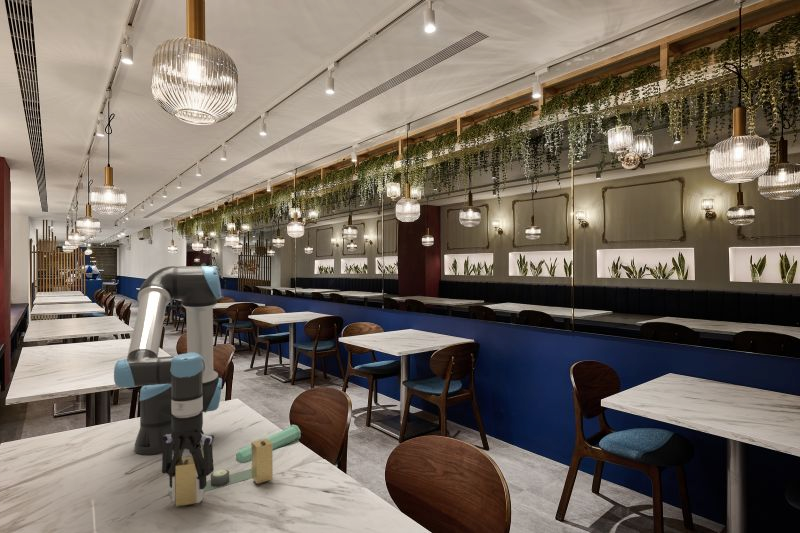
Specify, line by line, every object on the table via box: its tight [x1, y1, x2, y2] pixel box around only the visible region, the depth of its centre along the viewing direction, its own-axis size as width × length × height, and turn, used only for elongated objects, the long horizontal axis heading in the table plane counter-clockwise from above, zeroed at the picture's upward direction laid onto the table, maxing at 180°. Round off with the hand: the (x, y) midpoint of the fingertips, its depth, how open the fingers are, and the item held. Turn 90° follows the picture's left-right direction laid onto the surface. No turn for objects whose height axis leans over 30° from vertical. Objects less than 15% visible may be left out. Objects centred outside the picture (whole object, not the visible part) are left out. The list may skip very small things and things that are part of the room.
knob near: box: [175, 456, 198, 507], centre depth 117 cm, size 5×5×12 cm
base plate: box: [168, 468, 252, 500], centre depth 126 cm, size 12×26×4 cm, turn 126°
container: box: [235, 424, 302, 463], centre depth 152 cm, size 6×6×25 cm
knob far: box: [250, 438, 274, 484], centre depth 129 cm, size 5×5×12 cm
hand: (188, 499), depth 117 cm, fingers closed on knob near, 6 cm apart
